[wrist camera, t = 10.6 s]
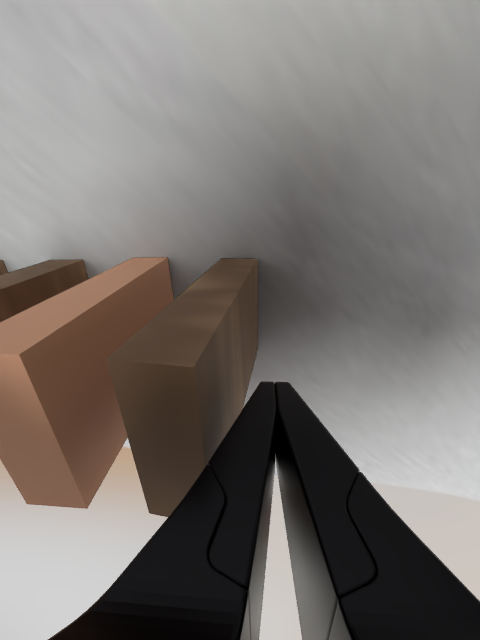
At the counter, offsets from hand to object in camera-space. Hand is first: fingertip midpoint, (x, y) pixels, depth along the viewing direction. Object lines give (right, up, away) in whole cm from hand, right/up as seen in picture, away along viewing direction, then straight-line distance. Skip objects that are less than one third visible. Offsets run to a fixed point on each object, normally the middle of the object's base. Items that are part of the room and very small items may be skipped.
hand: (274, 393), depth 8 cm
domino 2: (-5, +3, +6) cm, 9 cm away
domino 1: (-1, +3, +6) cm, 7 cm away
